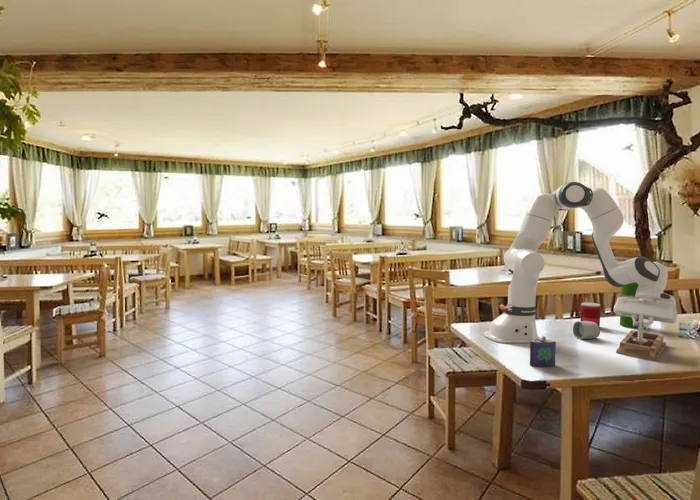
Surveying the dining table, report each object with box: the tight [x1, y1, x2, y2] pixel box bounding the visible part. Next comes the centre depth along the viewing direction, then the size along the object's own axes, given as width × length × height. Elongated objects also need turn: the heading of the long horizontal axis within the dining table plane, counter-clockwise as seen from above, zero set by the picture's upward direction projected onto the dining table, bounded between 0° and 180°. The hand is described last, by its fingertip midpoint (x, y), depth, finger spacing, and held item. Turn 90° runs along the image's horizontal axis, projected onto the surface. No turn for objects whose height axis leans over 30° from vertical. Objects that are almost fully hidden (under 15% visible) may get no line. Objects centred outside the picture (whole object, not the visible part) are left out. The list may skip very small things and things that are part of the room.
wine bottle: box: [619, 257, 639, 329], centre depth 196 cm, size 9×9×32 cm
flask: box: [529, 335, 557, 368], centre depth 146 cm, size 9×3×11 cm, turn 95°
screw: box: [632, 312, 648, 345], centre depth 159 cm, size 13×5×5 cm
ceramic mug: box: [572, 320, 601, 340], centre depth 180 cm, size 11×8×8 cm
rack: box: [615, 329, 667, 362], centre depth 164 cm, size 24×13×4 cm, turn 137°
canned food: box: [580, 301, 601, 327], centre depth 197 cm, size 8×8×11 cm
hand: (640, 326), depth 159 cm, fingers closed on screw, 2 cm apart
